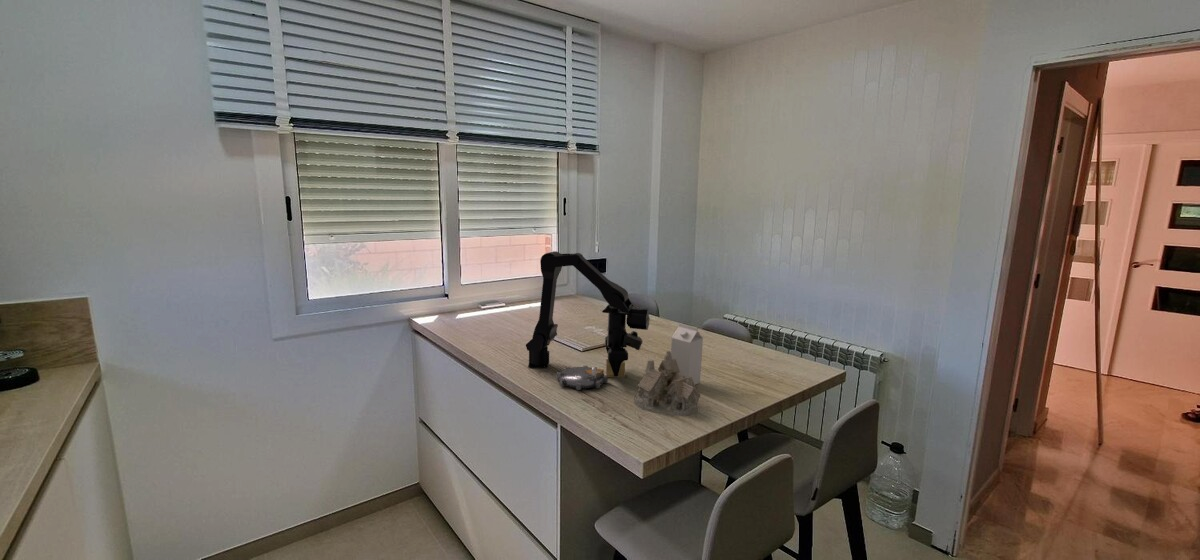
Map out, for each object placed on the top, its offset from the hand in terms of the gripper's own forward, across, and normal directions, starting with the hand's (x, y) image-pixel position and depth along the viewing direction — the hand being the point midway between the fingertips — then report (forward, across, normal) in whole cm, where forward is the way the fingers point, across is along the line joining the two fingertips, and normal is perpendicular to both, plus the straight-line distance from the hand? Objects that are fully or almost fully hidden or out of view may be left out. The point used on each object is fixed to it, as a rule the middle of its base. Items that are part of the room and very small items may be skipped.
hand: (615, 372), depth 158 cm
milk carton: (+1, -6, -22) cm, 23 cm away
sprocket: (+1, -6, +11) cm, 13 cm away
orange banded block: (+1, 0, 0) cm, 1 cm away
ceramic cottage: (+1, -23, -13) cm, 27 cm away
